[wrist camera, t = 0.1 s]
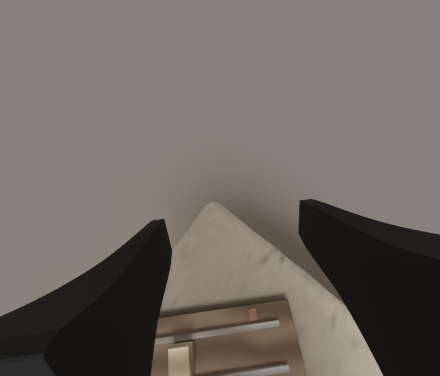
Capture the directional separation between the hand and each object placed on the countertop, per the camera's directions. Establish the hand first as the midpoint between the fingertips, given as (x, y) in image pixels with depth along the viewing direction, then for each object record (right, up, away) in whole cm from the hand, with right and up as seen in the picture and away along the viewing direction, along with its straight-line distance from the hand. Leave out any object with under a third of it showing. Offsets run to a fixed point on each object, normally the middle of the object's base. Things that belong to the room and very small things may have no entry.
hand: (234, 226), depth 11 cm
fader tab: (-6, -25, +22) cm, 34 cm away
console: (0, -25, +23) cm, 34 cm away
